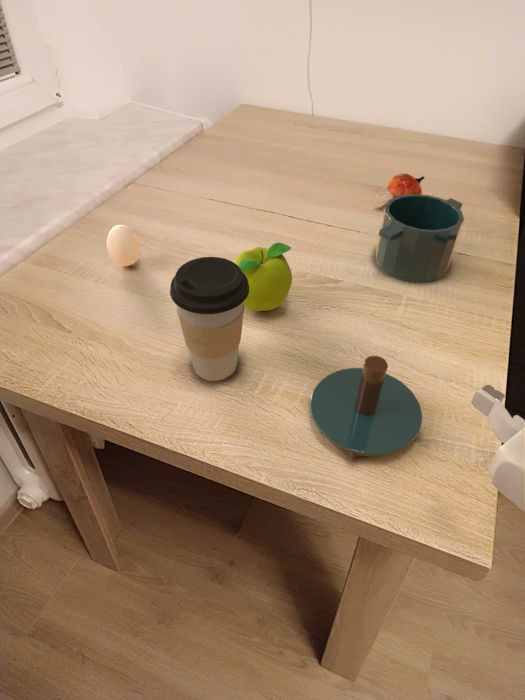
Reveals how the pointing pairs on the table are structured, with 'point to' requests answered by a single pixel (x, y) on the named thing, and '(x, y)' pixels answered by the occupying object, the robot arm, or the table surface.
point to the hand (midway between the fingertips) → (510, 369)
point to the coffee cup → (211, 313)
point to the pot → (418, 237)
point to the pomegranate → (404, 185)
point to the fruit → (265, 276)
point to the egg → (123, 245)
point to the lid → (366, 410)
